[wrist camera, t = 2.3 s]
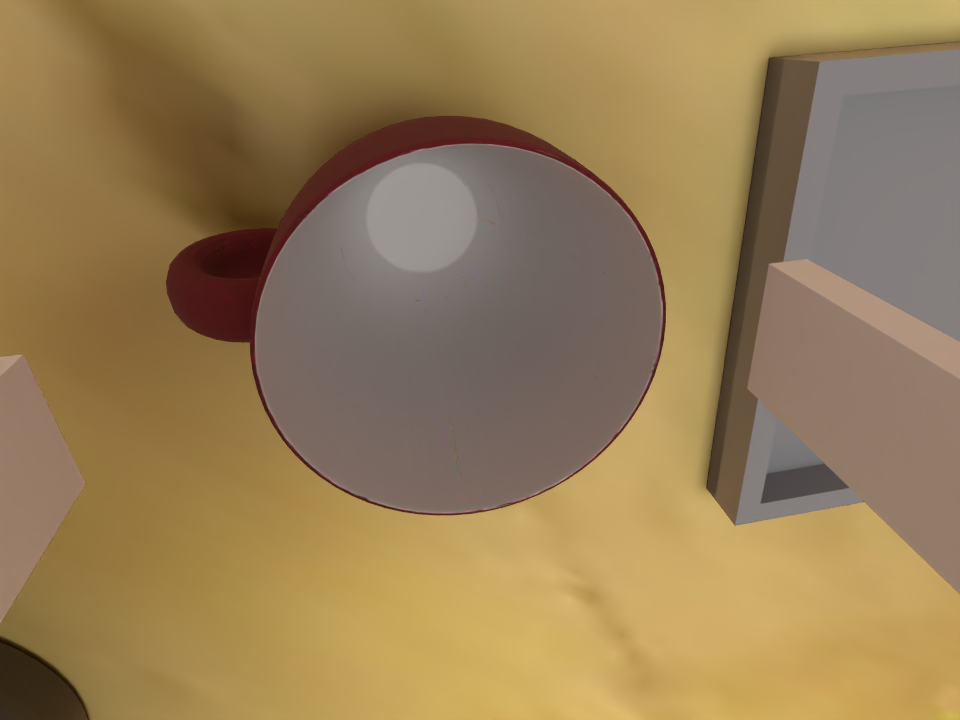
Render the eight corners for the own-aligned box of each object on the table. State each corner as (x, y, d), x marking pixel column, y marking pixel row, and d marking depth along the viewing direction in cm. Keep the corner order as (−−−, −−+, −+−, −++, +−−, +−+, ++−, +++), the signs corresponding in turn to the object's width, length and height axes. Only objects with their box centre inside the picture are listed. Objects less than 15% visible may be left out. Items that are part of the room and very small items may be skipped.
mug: (259, 359, 22) (195, 578, 13) (176, 119, 18) (8, 206, 9) (547, 305, 23) (664, 475, 14) (529, 65, 19) (676, 99, 10)
